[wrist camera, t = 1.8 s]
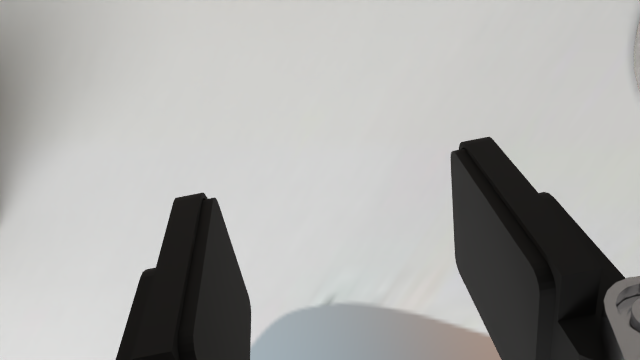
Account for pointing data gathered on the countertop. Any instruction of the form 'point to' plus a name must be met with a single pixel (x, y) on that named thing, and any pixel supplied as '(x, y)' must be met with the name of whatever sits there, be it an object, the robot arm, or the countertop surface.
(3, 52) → the countertop surface
